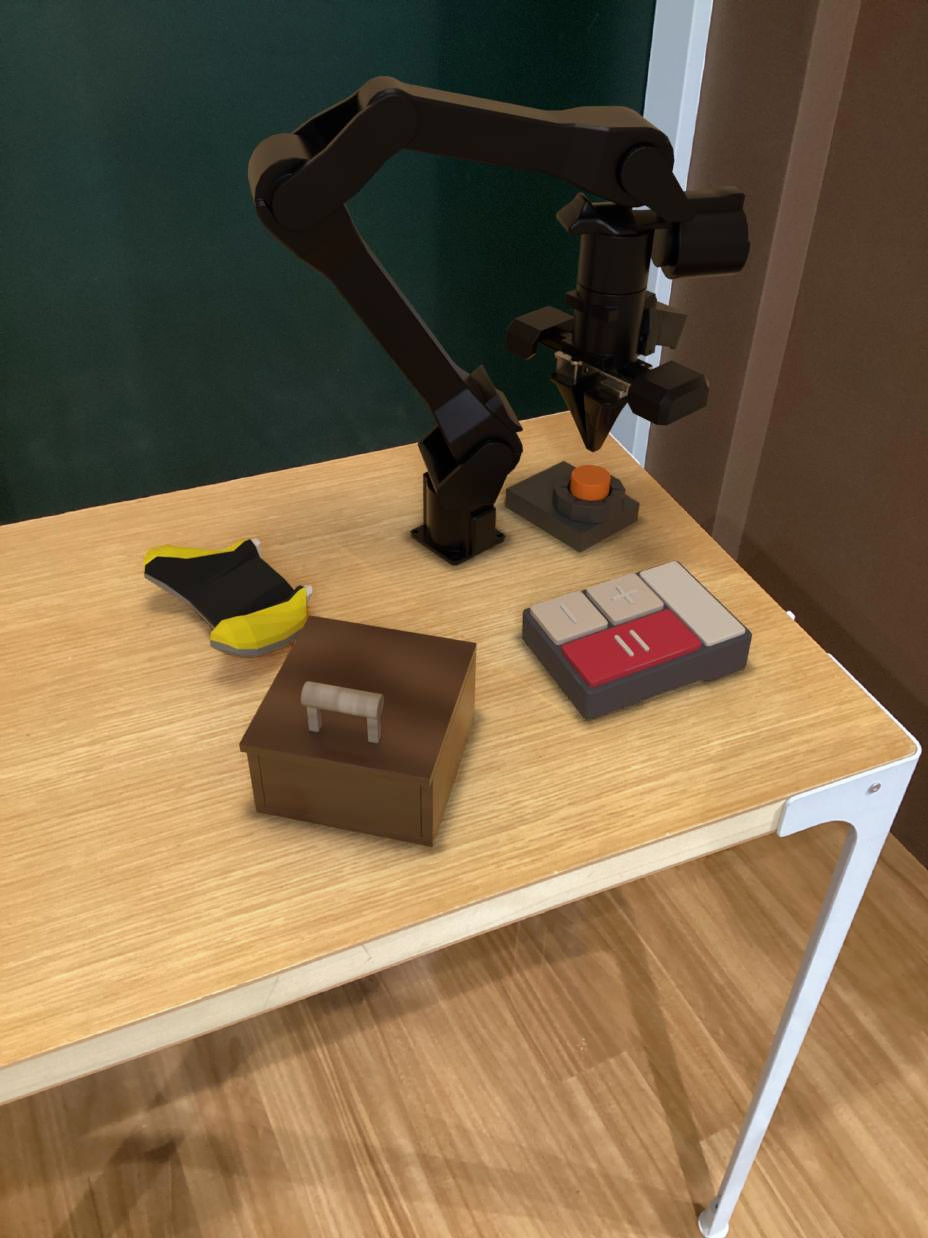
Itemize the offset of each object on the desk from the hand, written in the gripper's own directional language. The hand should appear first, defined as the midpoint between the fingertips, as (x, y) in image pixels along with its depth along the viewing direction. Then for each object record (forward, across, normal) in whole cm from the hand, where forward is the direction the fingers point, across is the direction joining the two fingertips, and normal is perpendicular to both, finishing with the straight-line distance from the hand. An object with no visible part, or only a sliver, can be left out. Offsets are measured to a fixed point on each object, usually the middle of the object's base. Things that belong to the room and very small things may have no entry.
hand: (593, 449), depth 96 cm
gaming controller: (+8, +9, +33) cm, 35 cm away
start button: (+4, 0, 0) cm, 4 cm away
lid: (+1, -11, +35) cm, 37 cm away
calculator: (+8, -15, +11) cm, 20 cm away
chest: (+8, -11, +34) cm, 37 cm away
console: (+8, +2, 0) cm, 8 cm away
